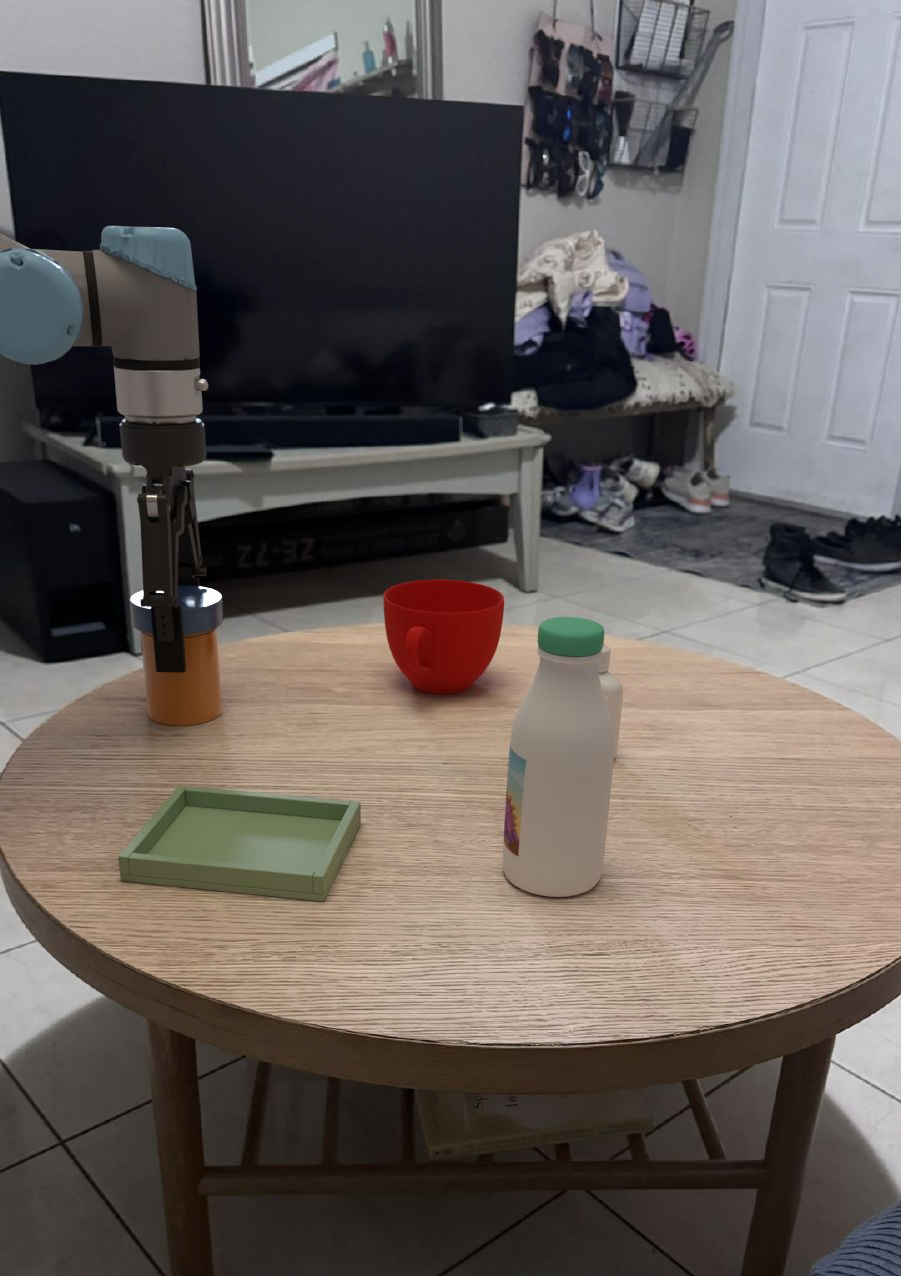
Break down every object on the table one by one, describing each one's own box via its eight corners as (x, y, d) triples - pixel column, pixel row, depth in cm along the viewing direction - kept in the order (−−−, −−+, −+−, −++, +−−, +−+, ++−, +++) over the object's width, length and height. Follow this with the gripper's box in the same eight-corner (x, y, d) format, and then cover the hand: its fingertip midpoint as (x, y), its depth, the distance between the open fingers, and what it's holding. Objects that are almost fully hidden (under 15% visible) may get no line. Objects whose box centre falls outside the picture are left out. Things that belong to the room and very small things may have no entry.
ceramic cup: (350, 707, 117) (349, 614, 112) (407, 658, 131) (408, 574, 127) (469, 725, 113) (472, 630, 109) (513, 673, 128) (518, 587, 123)
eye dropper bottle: (578, 767, 105) (589, 644, 99) (555, 744, 109) (564, 626, 104) (621, 763, 106) (634, 641, 101) (596, 740, 111) (607, 623, 105)
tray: (120, 880, 84) (117, 856, 83) (180, 807, 95) (178, 784, 94) (323, 901, 82) (323, 876, 81) (360, 824, 93) (360, 801, 92)
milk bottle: (617, 867, 88) (644, 620, 79) (575, 910, 82) (600, 649, 73) (529, 841, 91) (546, 602, 82) (483, 881, 85) (496, 628, 76)
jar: (136, 722, 111) (125, 613, 106) (164, 696, 118) (154, 592, 113) (208, 728, 110) (200, 618, 105) (231, 702, 117) (225, 597, 112)
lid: (223, 608, 115) (222, 584, 113) (224, 634, 107) (222, 609, 106) (135, 610, 113) (132, 586, 112) (129, 637, 105) (127, 611, 104)
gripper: (180, 436, 92) (199, 694, 102) (222, 404, 111) (234, 623, 121) (88, 433, 92) (116, 692, 102) (146, 401, 111) (165, 622, 121)
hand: (180, 655), depth 111 cm, fingers closed on lid, 9 cm apart
